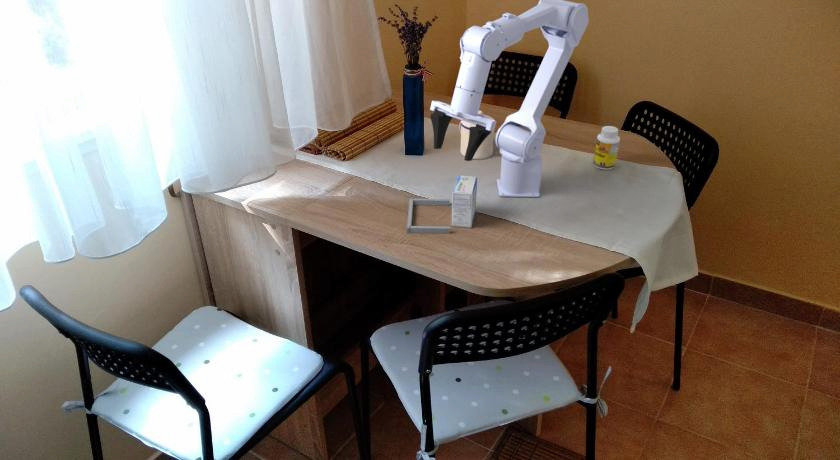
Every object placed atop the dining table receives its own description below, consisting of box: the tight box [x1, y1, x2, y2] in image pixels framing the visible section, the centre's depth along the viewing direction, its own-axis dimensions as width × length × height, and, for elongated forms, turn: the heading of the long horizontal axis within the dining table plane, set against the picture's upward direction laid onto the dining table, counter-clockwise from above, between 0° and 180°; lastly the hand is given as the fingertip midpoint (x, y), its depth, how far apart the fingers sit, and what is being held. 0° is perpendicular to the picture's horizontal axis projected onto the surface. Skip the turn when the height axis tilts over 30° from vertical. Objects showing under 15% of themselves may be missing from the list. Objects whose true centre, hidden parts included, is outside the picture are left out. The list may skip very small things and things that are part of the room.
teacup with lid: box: [458, 109, 496, 160], centre depth 167 cm, size 12×9×12 cm
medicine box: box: [451, 175, 478, 228], centre depth 138 cm, size 8×4×9 cm, turn 168°
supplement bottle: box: [592, 125, 621, 171], centre depth 159 cm, size 6×6×10 cm
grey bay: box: [406, 197, 451, 234], centre depth 141 cm, size 9×13×1 cm
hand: (452, 154), depth 131 cm, fingers open, 7 cm apart
